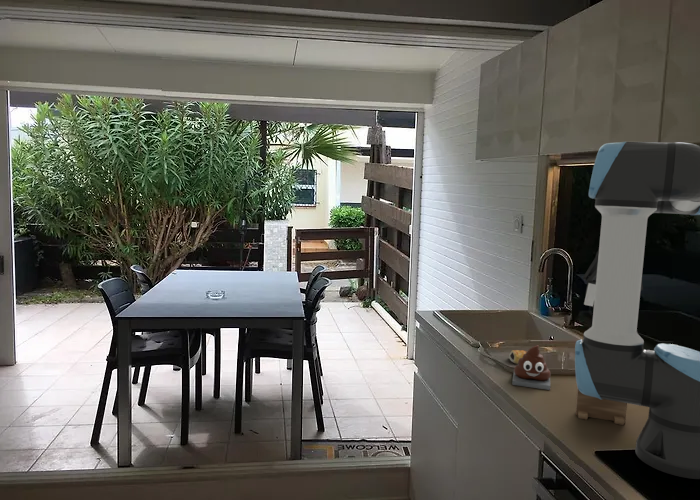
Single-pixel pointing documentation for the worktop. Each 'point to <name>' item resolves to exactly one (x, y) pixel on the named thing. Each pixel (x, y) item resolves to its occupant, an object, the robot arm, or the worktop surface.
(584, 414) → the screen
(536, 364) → the poop emoji
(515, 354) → the pastry
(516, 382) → the board
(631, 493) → the worktop surface
